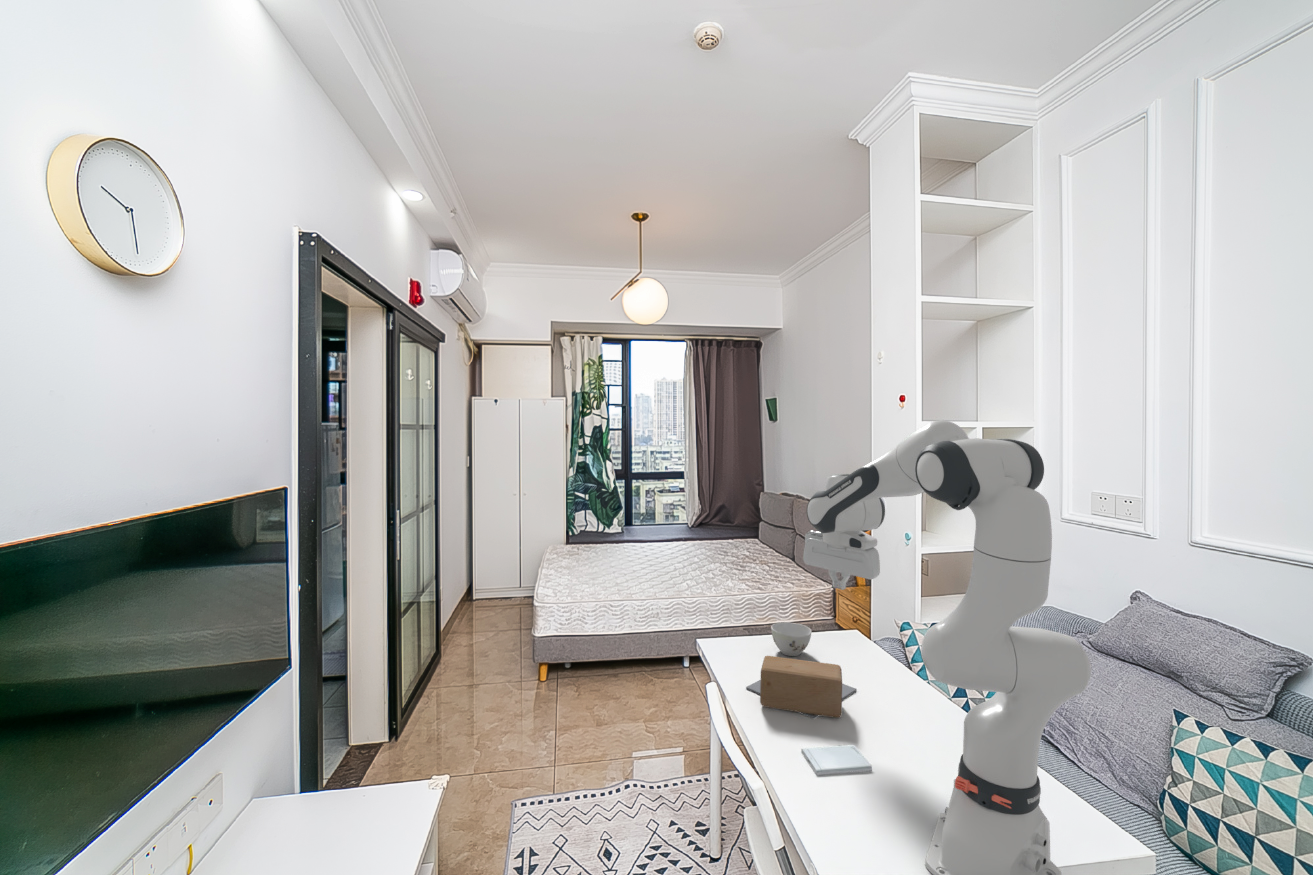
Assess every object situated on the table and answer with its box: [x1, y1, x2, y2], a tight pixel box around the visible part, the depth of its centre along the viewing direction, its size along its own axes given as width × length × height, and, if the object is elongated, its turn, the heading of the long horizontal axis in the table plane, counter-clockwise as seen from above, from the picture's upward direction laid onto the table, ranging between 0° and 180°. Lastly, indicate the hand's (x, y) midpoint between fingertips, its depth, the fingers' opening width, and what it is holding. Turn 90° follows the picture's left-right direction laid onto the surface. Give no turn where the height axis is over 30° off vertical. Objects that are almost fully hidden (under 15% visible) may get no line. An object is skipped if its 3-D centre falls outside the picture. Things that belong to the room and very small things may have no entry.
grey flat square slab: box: [745, 679, 858, 719], centre depth 156 cm, size 22×21×1 cm
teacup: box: [770, 621, 812, 657], centre depth 181 cm, size 15×12×8 cm
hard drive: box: [800, 744, 873, 776], centre depth 123 cm, size 2×8×12 cm
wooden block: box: [759, 655, 843, 719], centre depth 146 cm, size 10×10×20 cm
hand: (839, 588), depth 147 cm, fingers closed
